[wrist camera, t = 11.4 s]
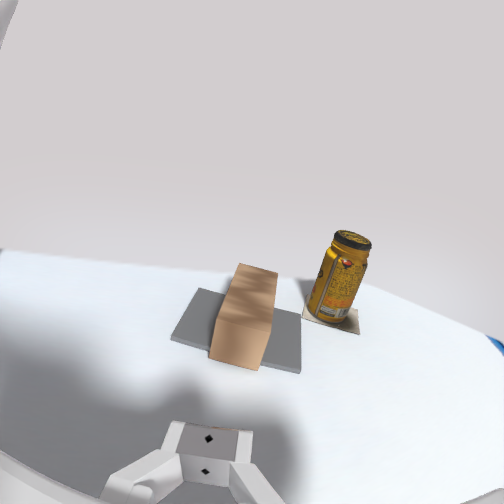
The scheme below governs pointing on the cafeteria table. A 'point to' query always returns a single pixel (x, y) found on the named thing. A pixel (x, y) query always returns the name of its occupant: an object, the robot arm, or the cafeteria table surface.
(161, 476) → the robot arm
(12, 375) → the cafeteria table surface
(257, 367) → the block
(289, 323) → the mat
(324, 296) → the condiment
